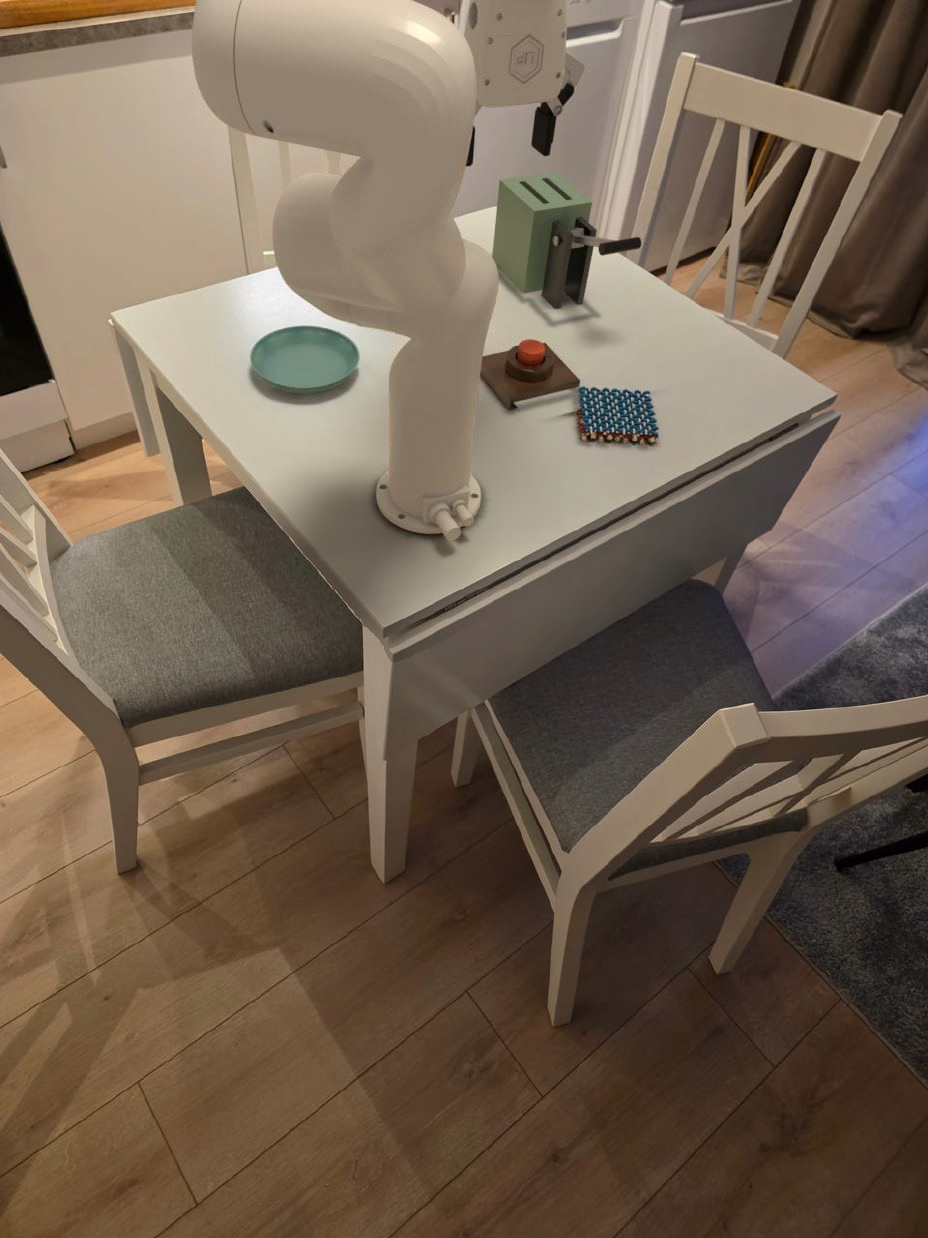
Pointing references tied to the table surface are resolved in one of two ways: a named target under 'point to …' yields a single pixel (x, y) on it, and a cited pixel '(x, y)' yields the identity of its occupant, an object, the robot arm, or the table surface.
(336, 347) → the saucer
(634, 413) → the woven mat
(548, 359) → the control block
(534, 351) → the button
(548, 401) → the table surface
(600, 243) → the lever
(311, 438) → the table surface
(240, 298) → the table surface
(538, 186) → the toaster
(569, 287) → the bracket
